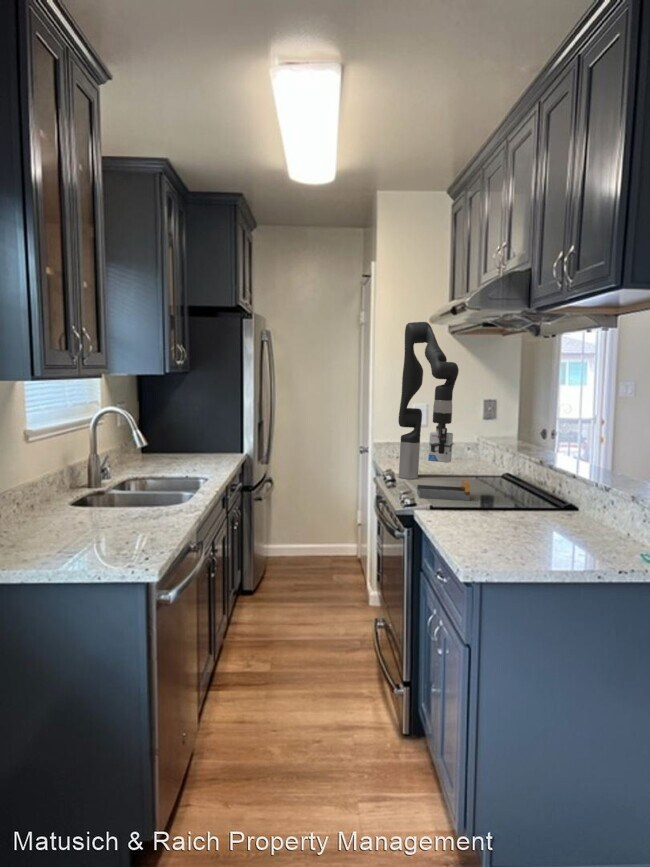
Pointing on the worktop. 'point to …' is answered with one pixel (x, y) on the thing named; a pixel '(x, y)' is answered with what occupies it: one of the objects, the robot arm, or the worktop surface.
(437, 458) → the ink box
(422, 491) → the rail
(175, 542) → the worktop surface
